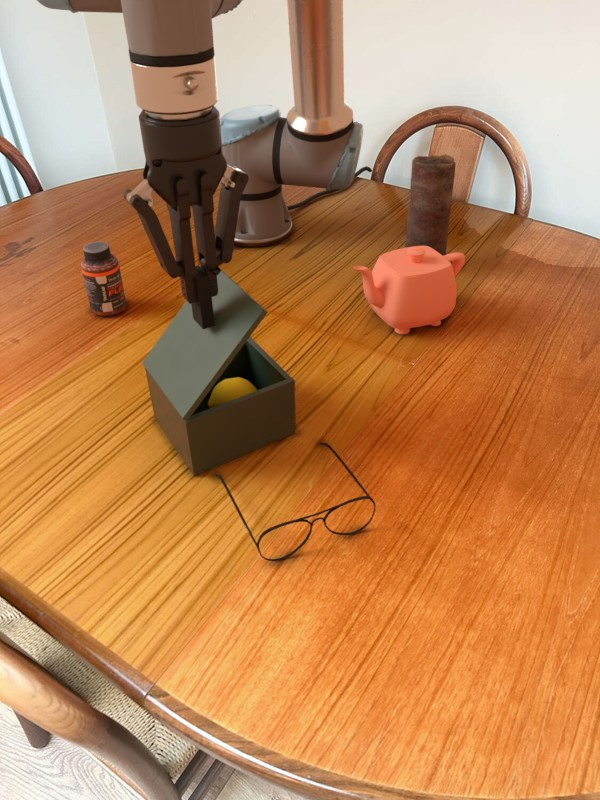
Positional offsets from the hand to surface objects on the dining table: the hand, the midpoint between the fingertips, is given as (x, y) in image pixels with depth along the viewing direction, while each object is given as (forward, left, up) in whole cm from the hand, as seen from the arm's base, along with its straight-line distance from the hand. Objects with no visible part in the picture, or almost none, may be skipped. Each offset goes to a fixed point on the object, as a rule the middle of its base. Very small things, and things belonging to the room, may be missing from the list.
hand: (203, 321), depth 76 cm
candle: (-52, -20, -17) cm, 58 cm away
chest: (-1, 0, -17) cm, 17 cm away
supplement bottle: (+2, -37, -17) cm, 41 cm away
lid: (0, 0, -2) cm, 3 cm away
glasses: (-2, +16, -17) cm, 23 cm away
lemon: (-3, -1, -16) cm, 17 cm away
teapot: (-38, -8, -17) cm, 42 cm away
